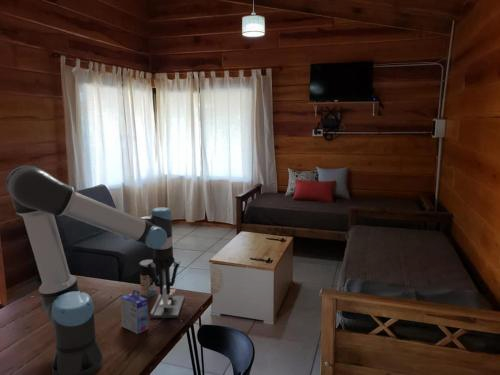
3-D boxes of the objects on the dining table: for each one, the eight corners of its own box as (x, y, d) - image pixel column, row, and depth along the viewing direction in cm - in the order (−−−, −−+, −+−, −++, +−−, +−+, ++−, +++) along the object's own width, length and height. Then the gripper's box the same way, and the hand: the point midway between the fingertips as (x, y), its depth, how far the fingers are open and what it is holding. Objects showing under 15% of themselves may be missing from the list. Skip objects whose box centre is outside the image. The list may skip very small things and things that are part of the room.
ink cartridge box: (149, 328, 145) (148, 293, 143) (138, 335, 141) (135, 298, 138) (133, 320, 151) (131, 286, 148) (121, 326, 147) (119, 291, 144)
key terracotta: (174, 296, 164) (173, 293, 163) (164, 296, 164) (164, 293, 163) (175, 292, 168) (175, 289, 167) (166, 292, 168) (166, 289, 167)
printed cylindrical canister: (142, 290, 177) (140, 260, 174) (156, 289, 178) (155, 259, 176) (140, 297, 171) (138, 265, 168) (156, 296, 172) (154, 264, 169)
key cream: (169, 307, 154) (169, 304, 154) (159, 307, 154) (159, 304, 154) (171, 302, 158) (171, 299, 158) (161, 303, 158) (161, 299, 157)
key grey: (171, 297, 158) (171, 294, 158) (162, 297, 158) (161, 294, 158) (173, 293, 162) (173, 290, 162) (164, 293, 162) (163, 290, 162)
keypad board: (177, 317, 153) (177, 312, 153) (150, 317, 153) (150, 312, 152) (184, 298, 170) (184, 292, 169) (159, 298, 170) (159, 293, 169)
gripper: (181, 243, 155) (183, 297, 159) (148, 243, 155) (151, 297, 159) (177, 249, 148) (180, 305, 152) (144, 249, 147) (147, 306, 152)
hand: (165, 301), depth 156 cm, fingers closed
